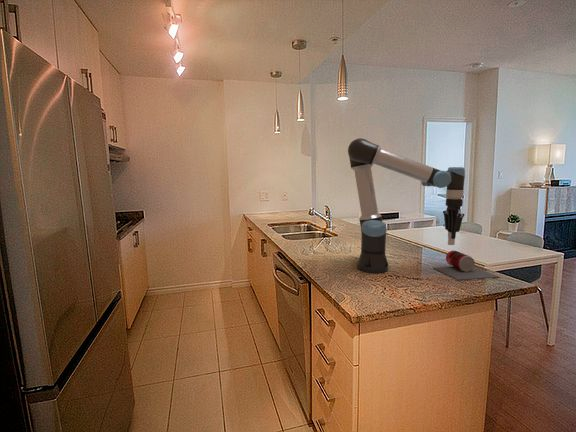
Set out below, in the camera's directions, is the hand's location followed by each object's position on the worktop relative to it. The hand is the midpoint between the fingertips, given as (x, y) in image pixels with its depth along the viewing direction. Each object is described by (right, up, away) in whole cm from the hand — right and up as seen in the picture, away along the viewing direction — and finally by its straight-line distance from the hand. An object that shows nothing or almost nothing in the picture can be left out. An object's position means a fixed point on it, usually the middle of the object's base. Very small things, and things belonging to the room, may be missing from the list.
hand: (451, 244), depth 163 cm
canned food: (0, -6, 0) cm, 6 cm away
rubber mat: (+1, -13, -11) cm, 17 cm away
